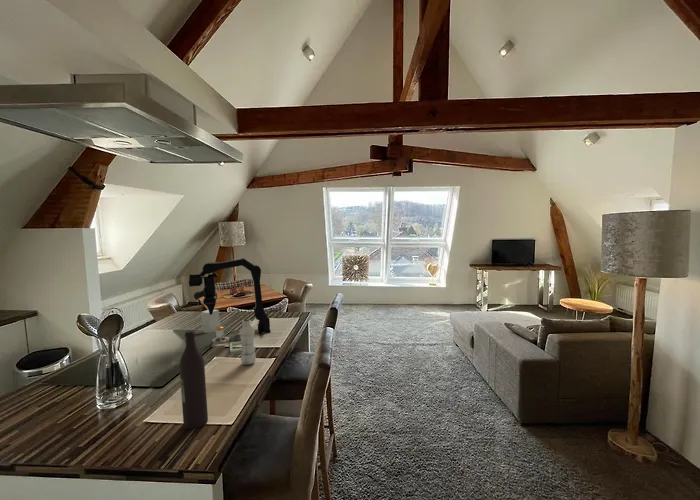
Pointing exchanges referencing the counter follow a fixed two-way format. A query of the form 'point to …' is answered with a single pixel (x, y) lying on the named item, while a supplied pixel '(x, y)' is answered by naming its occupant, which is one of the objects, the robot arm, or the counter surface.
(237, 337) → the pulley board
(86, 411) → the counter surface
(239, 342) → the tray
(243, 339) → the plastic bottle
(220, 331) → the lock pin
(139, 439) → the counter surface
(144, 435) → the counter surface
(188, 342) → the wine bottle
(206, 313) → the supplement box
